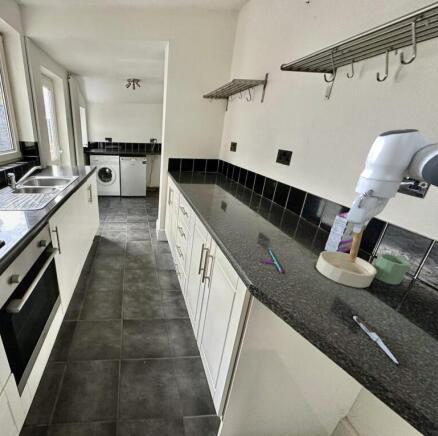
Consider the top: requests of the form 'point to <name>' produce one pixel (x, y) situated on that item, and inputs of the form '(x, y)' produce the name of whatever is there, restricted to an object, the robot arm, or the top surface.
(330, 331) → the top surface
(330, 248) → the candy bar box
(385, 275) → the holder
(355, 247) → the stirring stick
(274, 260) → the squeegee
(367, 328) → the pocket knife
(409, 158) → the robot arm
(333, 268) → the bowl
